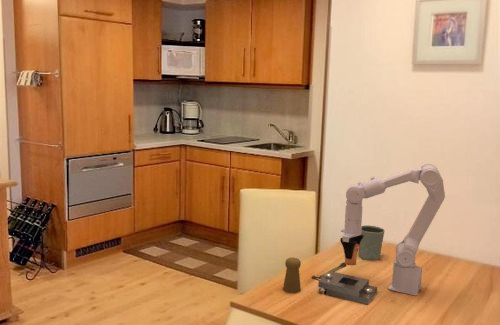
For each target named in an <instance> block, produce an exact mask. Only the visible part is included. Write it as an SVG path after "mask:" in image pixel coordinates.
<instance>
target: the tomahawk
mask: <svg viewBox="0 0 500 325" xmlns="http://www.w3.org/2000/svg"><path fill="white" fill-rule="evenodd" d="M346 266H347V264H345V261H344V262H342V263H340V264H339V265H338V266H336V267H333V268H332V269H330V270H328V271H326V272H325V273H323V274H321V275H319V276H315V275H313V276H311V279H313V280H316V281H318V282H319V281H320V280H321V279H322V278H323V277H324V276H325V274H326V273H329V272H330V271H332V272H337V271H339V270H341V269H343V268H344V267H346Z"/></svg>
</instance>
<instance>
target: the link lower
mask: <svg viewBox="0 0 500 325" xmlns="http://www.w3.org/2000/svg"><path fill="white" fill-rule="evenodd" d="M342 284H347V283H342ZM347 285H351V284H347ZM351 286H354V285H351ZM325 292H326V295H327V296H330V297H334V298H337V299H343V300H345V301H349V302H354V303H359V304H362V305H369V303H371V301H372V300H373V299H374V298H375V296H376V295H377V294H378V286H374V285H370V284H369V286H368V287H367V288H365V290H364V291H363V293H362V294H361V295H360V296H359V297H358V296H354V295H349V294H345V293H341V292H337V291H333V290H329V289H327V290H326V291H325Z"/></svg>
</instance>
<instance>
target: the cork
mask: <svg viewBox="0 0 500 325" xmlns="http://www.w3.org/2000/svg"><path fill="white" fill-rule="evenodd" d="M284 264H285V268H286V271H285V278H284V280H283V281H284V282H283V287H282V290H283V291H284V292H285V293H289V294H297V293H300V292H301V291H302V290H301V279H300V278H301V277H300V268H301V265H302V264H301V260H300V259H299V258H297V257H288V258H286V260H285V263H284Z"/></svg>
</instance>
